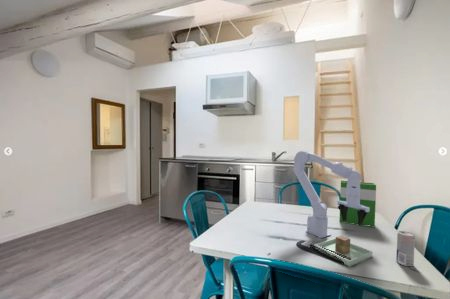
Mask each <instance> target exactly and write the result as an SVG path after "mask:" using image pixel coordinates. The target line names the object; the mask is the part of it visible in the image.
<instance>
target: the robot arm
mask: <svg viewBox="0 0 450 299" xmlns="http://www.w3.org/2000/svg"><path fill="white" fill-rule="evenodd" d="M307 163H317V164H319V165H321V166H324V167H325V168H328V169H330V171H331V173H333V174H334V175H337V176H338V177H341V178H343V179H347V181H348V183H347V194H346V201H340V200H337V206H338V207H337V208H338V210H339V213H340V212H341V215H342V219H343V221H345V220H347V210H348V207H350V208H354V209H358V210H360V211H357V214H358V225H357V226H359V227H361V226H363V225H362V223H363V220H364V218H365V216H366V215H367V213H368V212H369V210H370V208H369V207H366V206H363V205H360V182H362V175H361V173H360V172H359V171H358V170H356V169H353V167H348V166H347V165H344V163H343V162H341V161H340V162H337V161H336V162H334V163H333V162H332V161H330V160H327V159H326V158H324V157H321V156H319V155H318V154H316V153H312V152H308V151H307V150H300V151H298V152H297V153H296V154H295V156H294V159H293V172H294V174H295V175H296V176H295V177H296V178H297V180H298V182H299V183H300V186H302V189H303V191H304V192H305V194H306V196H307V198H308V200H309V202H310V206H311V208H312V213H311V214H309V216H307V220H306V221H307V222H306V230H305V232H306V233H308V234H311V235H312V236H315V237H318V238H320V239H323V238H325V237H329V236H332V234H331V233H329V232H328V223H329V222H328V220H329V218H328V217H329V216H327V213H328V212H327V211H328V206H327V204H326V203H324V201H322V199H321V198H320V197H319V195H318V193H317V192H316V189H315V187H314V186H313V185H312V183H311V180H310V178H309V177H308V174H307V173H306V171H305V167H306V166H307V165H306V164H307Z"/></svg>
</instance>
